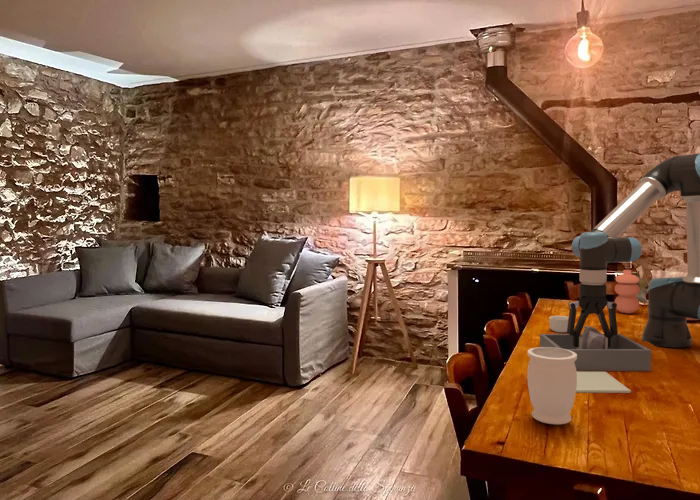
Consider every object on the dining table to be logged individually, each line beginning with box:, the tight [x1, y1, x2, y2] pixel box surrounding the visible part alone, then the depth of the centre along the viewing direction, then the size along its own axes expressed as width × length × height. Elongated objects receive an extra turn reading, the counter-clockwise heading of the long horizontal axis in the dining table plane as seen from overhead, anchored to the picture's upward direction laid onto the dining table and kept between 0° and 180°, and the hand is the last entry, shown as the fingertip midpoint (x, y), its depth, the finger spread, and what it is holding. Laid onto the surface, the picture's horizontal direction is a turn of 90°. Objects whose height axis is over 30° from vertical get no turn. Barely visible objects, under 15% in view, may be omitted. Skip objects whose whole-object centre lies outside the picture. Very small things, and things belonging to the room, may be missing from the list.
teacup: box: [548, 315, 569, 334], centre depth 206 cm, size 10×8×5 cm
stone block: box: [581, 325, 605, 349], centre depth 166 cm, size 12×5×10 cm, turn 168°
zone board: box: [575, 371, 632, 394], centre depth 146 cm, size 16×16×1 cm
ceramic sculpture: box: [635, 270, 649, 304], centre depth 264 cm, size 11×9×15 cm
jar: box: [526, 346, 577, 425], centre depth 121 cm, size 11×10×15 cm
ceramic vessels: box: [613, 269, 698, 321], centre depth 235 cm, size 35×21×19 cm, turn 66°
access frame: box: [539, 333, 652, 372], centre depth 166 cm, size 25×20×6 cm
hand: (591, 357), depth 166 cm, fingers open, 7 cm apart
